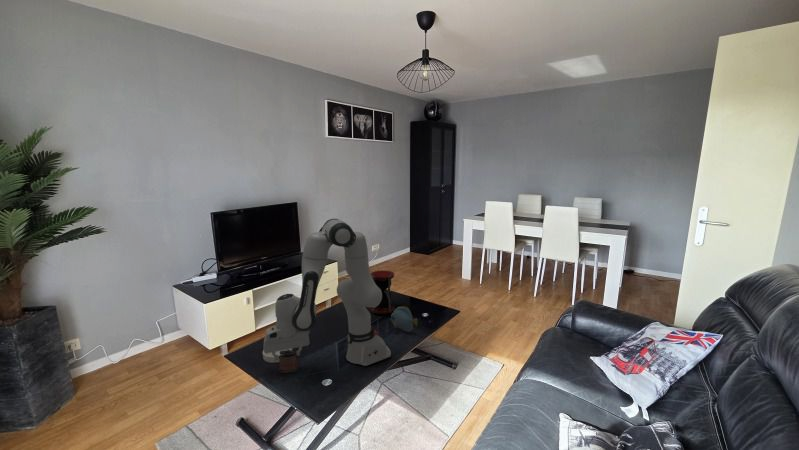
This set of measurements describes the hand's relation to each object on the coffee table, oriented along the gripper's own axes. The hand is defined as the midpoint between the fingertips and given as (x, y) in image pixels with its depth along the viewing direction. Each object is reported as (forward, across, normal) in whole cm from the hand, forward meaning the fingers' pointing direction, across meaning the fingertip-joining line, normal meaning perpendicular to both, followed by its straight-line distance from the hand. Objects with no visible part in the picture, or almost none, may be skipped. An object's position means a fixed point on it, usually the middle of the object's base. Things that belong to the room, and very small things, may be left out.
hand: (287, 357), depth 156 cm
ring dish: (+6, +3, -16) cm, 18 cm away
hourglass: (+5, -66, -47) cm, 81 cm away
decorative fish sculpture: (+5, -66, -14) cm, 68 cm away
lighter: (+7, 0, 0) cm, 7 cm away
